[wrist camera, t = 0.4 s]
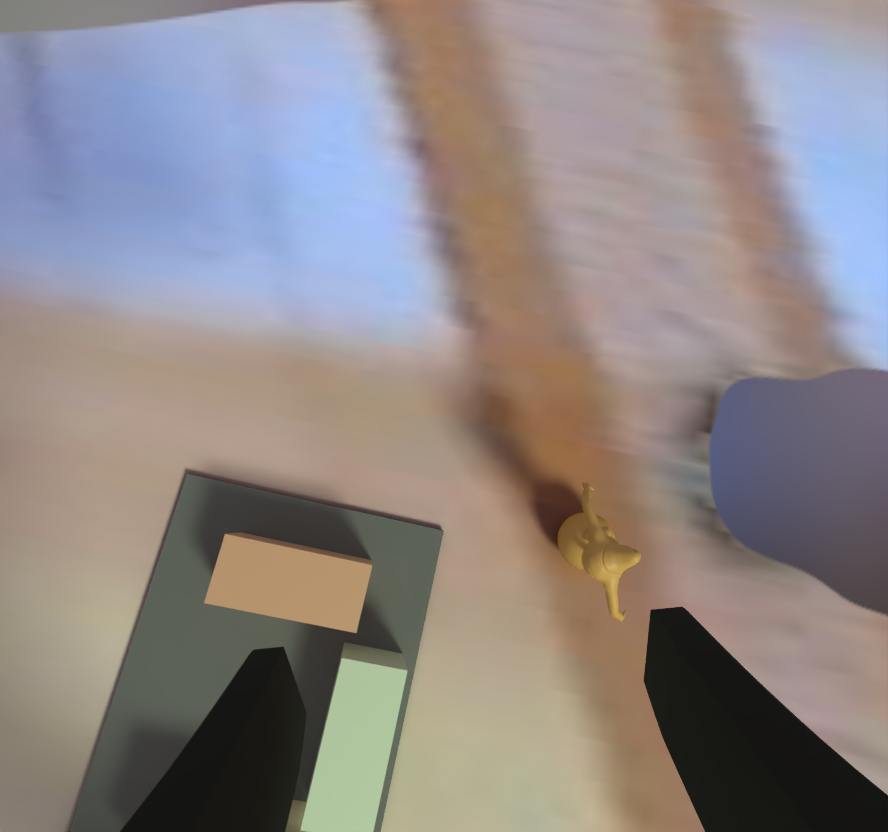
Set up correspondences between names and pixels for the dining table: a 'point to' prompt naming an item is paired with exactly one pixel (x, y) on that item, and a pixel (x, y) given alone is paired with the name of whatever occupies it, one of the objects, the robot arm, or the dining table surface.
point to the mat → (246, 636)
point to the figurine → (596, 550)
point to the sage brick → (355, 741)
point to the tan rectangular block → (289, 581)
